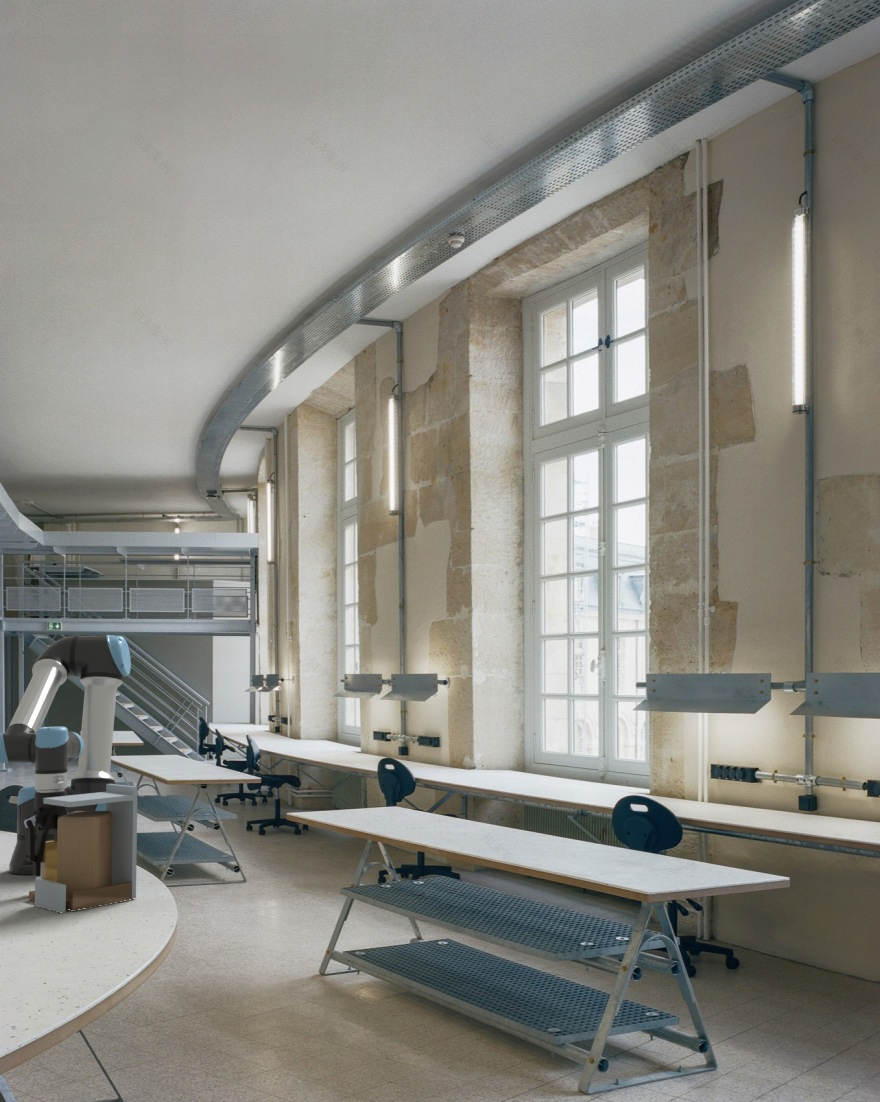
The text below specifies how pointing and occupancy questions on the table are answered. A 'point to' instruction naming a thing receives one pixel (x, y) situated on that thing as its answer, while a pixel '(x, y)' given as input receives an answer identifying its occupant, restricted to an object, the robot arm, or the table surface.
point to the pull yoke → (83, 896)
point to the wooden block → (84, 850)
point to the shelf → (123, 841)
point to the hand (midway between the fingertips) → (49, 887)
